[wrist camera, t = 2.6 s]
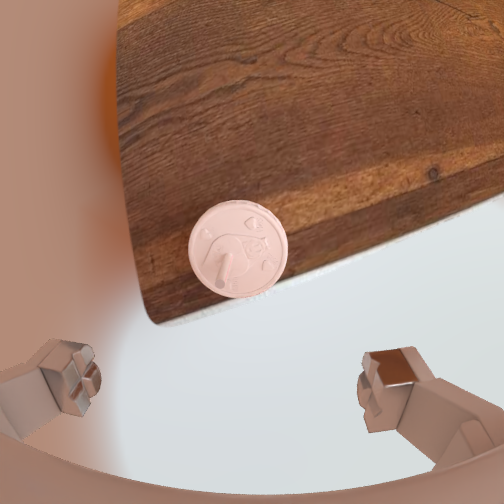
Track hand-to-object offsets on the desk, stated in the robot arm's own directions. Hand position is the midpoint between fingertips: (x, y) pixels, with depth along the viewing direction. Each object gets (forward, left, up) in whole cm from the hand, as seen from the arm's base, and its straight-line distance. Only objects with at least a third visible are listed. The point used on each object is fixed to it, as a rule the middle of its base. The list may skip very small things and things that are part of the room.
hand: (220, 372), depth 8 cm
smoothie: (0, 0, -22) cm, 22 cm away
